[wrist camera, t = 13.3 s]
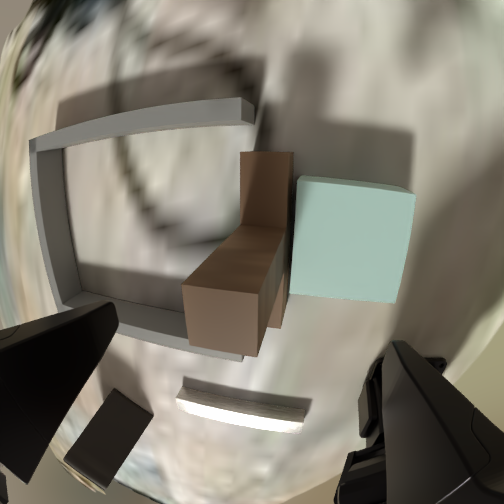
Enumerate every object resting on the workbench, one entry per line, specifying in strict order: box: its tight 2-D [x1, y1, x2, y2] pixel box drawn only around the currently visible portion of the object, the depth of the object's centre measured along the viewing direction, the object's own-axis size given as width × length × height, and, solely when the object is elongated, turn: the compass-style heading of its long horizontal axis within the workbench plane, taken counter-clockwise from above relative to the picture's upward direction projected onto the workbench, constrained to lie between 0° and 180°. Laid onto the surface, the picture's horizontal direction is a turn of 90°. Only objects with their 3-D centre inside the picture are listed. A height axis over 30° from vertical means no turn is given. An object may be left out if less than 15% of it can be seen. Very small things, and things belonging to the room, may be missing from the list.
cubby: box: [29, 97, 255, 362], centre depth 18 cm, size 18×16×3 cm
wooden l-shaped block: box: [181, 151, 294, 357], centre depth 13 cm, size 2×10×10 cm, turn 0°
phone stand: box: [63, 389, 153, 490], centre depth 25 cm, size 9×6×12 cm, turn 148°
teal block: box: [289, 175, 416, 303], centre depth 15 cm, size 6×6×4 cm
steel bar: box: [176, 386, 305, 434], centre depth 24 cm, size 12×2×2 cm, turn 89°
